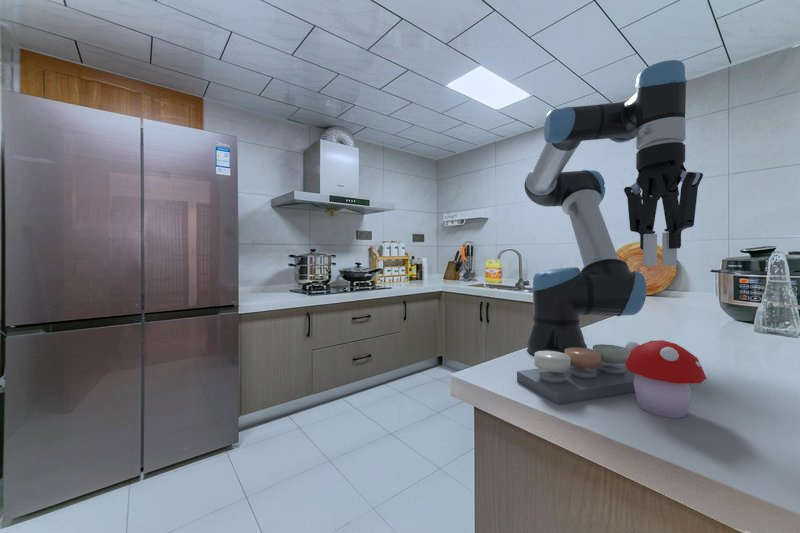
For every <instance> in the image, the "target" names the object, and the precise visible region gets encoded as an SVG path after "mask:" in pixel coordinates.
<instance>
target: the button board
mask: <svg viewBox="0 0 800 533" xmlns="http://www.w3.org/2000/svg"><path fill="white" fill-rule="evenodd" d="M635 375H636V373H633V372H630V371H629V370H628V369H627V368H625V367H624V366H623V365H622V364H614V363H607V362H603V361H601V366H600V367H596V368H585V367H578V366H574V365H571V369H570V370H569V371H566V372H551V371H546V370H542V369H539V368H533V369H523V370H517V371H516V382H517V381H518V382H519V383H520V384H522V385H524V386H526V387H528V388H529V389H531V390H533V391H534V392H536V393H538V394H539V395H541V396H543V397H544V398H546V399H548V400H550V401H551V402H553V403H554V404H556V405H563V404H569V403H575V402H580V401H587V400H592V399H599V398H605V397H611V396H616V395H622V394H623V395H624V394H629V393H633V392H634V393H635V388H634V383H633V382H634V378H635Z"/></svg>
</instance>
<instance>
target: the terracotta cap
mask: <svg viewBox="0 0 800 533" xmlns="http://www.w3.org/2000/svg"><path fill="white" fill-rule="evenodd" d="M565 354H567V355H569V356H570V357H571V365H574V366H578V367H585V368H596V367H600V366H601V353H600V352H598V351H595V350H593V348H592V349H591V348H588V347H587V348H577V347H573V348H566V349H565Z"/></svg>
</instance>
